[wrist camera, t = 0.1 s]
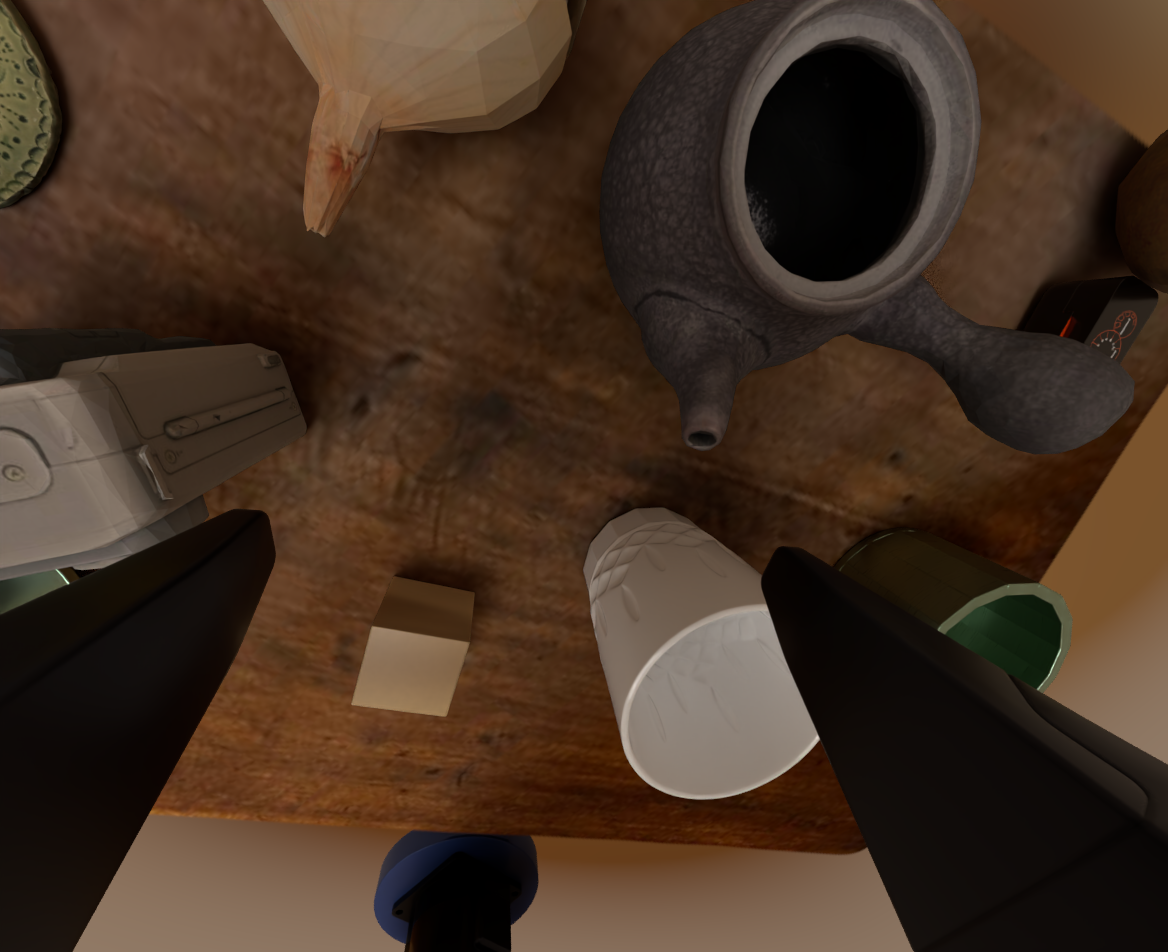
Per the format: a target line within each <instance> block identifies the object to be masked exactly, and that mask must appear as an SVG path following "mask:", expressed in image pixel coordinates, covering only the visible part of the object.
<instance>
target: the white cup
mask: <svg viewBox="0 0 1168 952" xmlns="http://www.w3.org/2000/svg"><path fill="white" fill-rule="evenodd" d="M583 572H584V577H585V581H586V586H587V590H588V595H589V598H590V603H591V608H590V613H591V617H592V621H593V626H594V632H595V636H596V639H597V643H598V649H599V654H600V658H601V662H602V666H603V669H604V673H605V677H606V680H607V684H608V688H609V692H610V696H611V700H612V705H613V709H614V713H615V717H616V721H617V725H618V729H619V733H620V737H621V741H622V745H623V748H624V752H625V754H626V757H627V759H628V761H629V763H630V764H631V766H632V767H633V769H634V770H635V771H636V773H637V774H638V775H639V776H640V777H641V778H642V779H643V780H644V781H646V782H647V783H648V784H650V785H651V786H653V787H654V788H656V789H658V790H660V791H662V792H665V793H667V794H670V795H673V796H677V797H682V798H688V799H716V798H723V797H729V796H733V795H737V794H740V793H744V792H747V791H749V790H752V789H754V788H757V787H759V786H761V785H763V784H765V783H767V782H769V781H771V780H773V779H775V778H776V777H778V776H780V775H781V774H783V773H784V772H786V771H787V770H789V769H790V768H791V767H793V766H794V765H795V764H796V763H797V762H799V761H800V760H801V759H802V758H803V757H804V756H805V755H806V754H807V753H808V752H809V751H810V750H811V749H812V748H813V747H814V746H815V745H816V743H817V742H818V741H819V740H820V738H819V736H818V734H817V732H816V729H815V727H814V725H813V723H812V720H811V718H810V716H809V713H808V711H807V709H806V707H805V704H804V702H803V700H802V698H801V695H800V693H799V691H798V688H797V686H796V684H795V682H794V679H793V677H792V675H791V673H790V670H789V668H788V665H787V663H786V660H785V658H784V655H783V652H782V649H781V647H780V644H779V641H778V638H777V634H776V631H775V628H774V625H773V622H772V619H771V616H770V613H769V610H768V607H767V604H766V601H765V598H764V595H763V592H762V589H761V577H762V575H761V574H760V573H759V572H758V571H756V570H755V569H754V568H753V567H752V566H750V565H749V564H748V563H747V562H745V561H744V560H743V559H742V558H740V557H739V556H738V555H736V554H735V553H734V552H732V551H731V550H729V549H728V548H727V547H725V546H724V545H723V544H722V543H721V542H719V541H718V540H716V539H715V538H714V537H712V536H711V535H709V534H708V533H706V532H704V531H703V530H701V529H700V528H699V527H698V526H696V525H695V524H694V523H693V522H692V521H690V520H689V519H688V518H686V517H684V516H682V515H679V514H677V513H675V512H673V511H671V510H668V509H666V508H663V507H662V508H636V509H634V510H632V511H630V512H627V513H625V514H623V515H621V516H619V517H617V518H615V519H613V520H611V521H609V522H608V523H607V525H606V526H605V527H604V528H603V529H602V530H601V532H600V533H599V534H598V535H597V536H596V537H595V539H594V540H593V541H592V542H591V543H590V547H589V550H588V554H587V557H586V561H585V565H584V568H583Z"/></svg>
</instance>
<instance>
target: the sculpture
mask: <svg viewBox="0 0 1168 952" xmlns="http://www.w3.org/2000/svg"><path fill="white" fill-rule="evenodd" d="M586 1H587V0H263V2H264V3H265V5H266V6H267V8H268V9H269V11H270V12H271V14H272V15H273V17H274V19H275V20H276V22H277V23H278V25H279V26H280V28H281V29H282V31H283V33H284V34H285V36H286V37H287V39H288V40H289V42H290V43H291V45H292V46H293V48H294V50H295V51H296V53H297V54H298V56H299V57H300V58H301V60H302V61H303V63H304V64H305V66H306V67H307V69H308V70H309V72H310V73H311V75H312V76H313V78H314V79H315V80H316V82H317V83H318V85H319V97H320V100H319V103H318V107H317V110H316V113H315V117H314V120H313V123H312V130H311V137H310V144H309V151H308V158H307V165H306V176H305V189H304V203H303V211H304V219H305V225H306V226H307V231H308V230H309V229H311V230H312V231H314V232H315V233H316V232H317V233H320V234H321V235H322V236H324V237H326V236H327V235H328V237H329V235H330V233H331V231H332V230H333V228H334V226H335V225H336V223H337V221H338V219H339V218H340V216H341V214H342V213H343V211H344V209H345V207H346V206H347V204H348V202H349V201H350V199H351V197H352V195H353V194H354V192H355V190H356V188H357V187H358V185H359V183H360V181H361V180H362V178H363V176H364V174H365V173H366V171H367V169H368V167H369V166H370V163H371V161H372V158H373V155H374V153H375V150H376V147H377V145H378V142H379V140H380V138H381V137H382V135H383V133H384V132H392V131H403V130H422V131H432V132H443V133H463V132H475V131H486V130H498V129H500V128H502V127H504V126H506V125H508V124H510V123H512V122H513V121H515V120H517V119H519V118H521V117H523V116H524V115H526V114H528V113H529V112H531V111H533V110H535V109H536V108H537V107H538V106H539V104H540V103H541V101H542V100H543V99H544V97H545V96H546V94H547V93H548V92H549V90H550V89H551V87H552V86H553V85H554V83H555V82H556V80H557V79H558V78H559V76H560V75H561V73H562V71H563V67H564V63H565V59H566V58H567V57H568V56H569V55H570V53H571V49H572V46H573V43H574V40H575V37H576V33H577V30H578V27H579V24H580V21H581V17H582V14H583V11H584V8H585V5H586Z"/></svg>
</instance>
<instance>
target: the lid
mask: <svg viewBox="0 0 1168 952" xmlns="http://www.w3.org/2000/svg"><path fill="white" fill-rule="evenodd" d="M78 579H80V578H79V576H78V575H77V574H76V572H75V571H74V570H73V569H72V568H71V567H66V568H61V569H56V570H51V571H46V572H41V573H36V574H32V575H27V576H22V577H17V578H12V579H6V580H1V581H0V614H2V613H5V612H7V611H9V610H11V609H13V608H16V607H18V606H20V605H22V604H24V603H27V602H29V601H31V600H33V599H36V598H38V597H40V596H42V595H44V594H47V593H49V592H51V591H53V590H55V589H58V588H60V587H62V586H64V585H66V584H69V583H71V582H73V581H75V580H78Z"/></svg>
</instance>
